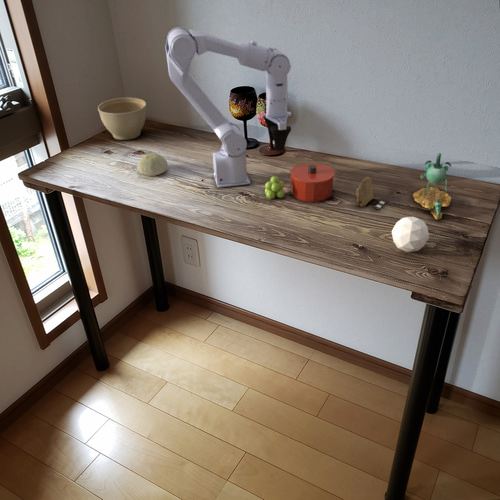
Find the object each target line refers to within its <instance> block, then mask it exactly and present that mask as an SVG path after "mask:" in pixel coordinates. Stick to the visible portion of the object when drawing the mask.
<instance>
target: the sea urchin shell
mask: <svg viewBox="0 0 500 500" xmlns="http://www.w3.org/2000/svg"><path fill="white" fill-rule="evenodd" d="M168 168H169V164H168V161H167V159H166V158H165V157H164V156H162V155H161V154H158V153H149V154H146V155H144V156H142V157H141V158H140V159H139V160H138V162H137V165H136V169H137V172H138V173H139V174H140V175H143V176H148V177H156V176H157V175H159V176H160V175H161V174H163V173H165V172H166V171H167V170H168Z"/></svg>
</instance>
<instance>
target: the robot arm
mask: <svg viewBox="0 0 500 500" xmlns="http://www.w3.org/2000/svg"><path fill="white" fill-rule="evenodd" d="M164 46H165V47H164V48H165V49H164V50H165V54H166V62H167V70H168V76H169V79H170V81H171V82H172V83H173V84H174V86H175V87H176V88H177V89H178V90H179V91H180V92H181V94H182V95H183V96H184V97H185V98H186V100H187V101H188V102H189V103H190V104H191V106H192V107H193V108H194V109H195V110H196V111H197V113H199V115H200V116H201V117H202V118H203V119H204V121H205V122H206V123H207V124H208V125H209V127H210V128H211V129H212V130H213V131H214V133H215V134H216V136H217V138H218V139H219V140H220V141H221V143H222V144H221V147H220V149H219V151H217V152H213V153H212V162H213V163H212V164H213V178H214V180H215V184H216V187H217V188H227V187H228V188H229V187H235V186H236V187H237V186H246V185H250V184H251V180H250V178H249V176H248V170H247V146H248V143H247V142H248V141H247V139H246V138H245V137H244V135H243V134H242V130H241V129H240V127H239V125H237V124H235V123H233V122H231V121H230V119H228V118H227V116H225V115H224V114H223V113H222V111H221V110H220V109H219V108H218V106H217V105H216V104H215V102H214V101H212V99H211V97H210V96H208V94H207V93H206V92H205V90H203V88H202V87H201V85H199V84H198V82H197V81H196V79H194V77H193V76H192V74H190V69H191V63H192V61H193V59H194V58H195V55H196V54H197V56H201V55H203V54H205V53H207V52H211V53H215V54H218V55H223V56H227V57H230V58H234V59H237V61H238V63H239V65H240V66H244V67H247V68H250V69H253V70H257V71H261V72H265V73H266V77H265V79H266V80H265V87H266V88H265V94H266V95H265V102H266V103H265V104H266V105H265V106H266V107H265V108H266V111H265V112H266V113H265V115H263V116H262V117H263V120H264V121H265V124H266V127H267V133H268V139H269V140H270V142H274V148H275V151H276V152H282V151H284V150H285V147H286V143H287V141H288V140H287V139H288V136H289V134H290V133H291V131H292V127H291V126H290V125H288V126H287V120H288V117H292V112H291V111H288V86H289V85H288V83H289V82H288V74H289V73H290V71H291V68H292V65H291V63H290V59H289V57H288V56H287V55H285V54H284V53H283V52H282V50H281V51H280V50H279V49H277V48H274V47H271V46H269V47H266V46H262V45H259V44H257V42H256V41H255V40H250V42H249V41H244V42H243V43H241V44H238V43H236V42H235V43H234V42H231V41H229V40H226V39H224V38H221V37H218V36H215V35H212V34H210V33H206V32H203V31H199V30H196V29H191V28H190V29H189V28H188V29H186V28H185V27H182V26H177V27H174V28H172V29H170V31H169V32H168V33H167V37H166V42H165V45H164Z"/></svg>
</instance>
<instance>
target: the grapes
mask: <svg viewBox="0 0 500 500" xmlns="http://www.w3.org/2000/svg"><path fill="white" fill-rule="evenodd" d="M284 188H285V182H284V180H281V179H279V177H278V176H276V174H273V176H272V177H270V181H267V182H266V183H265V184H264V193H265V196H266V198H267V199H269V200H274V198H275V197H276V198H277V199H282V198H284V197H285V195H286V192H285V190H284Z"/></svg>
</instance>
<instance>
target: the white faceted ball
mask: <svg viewBox="0 0 500 500" xmlns="http://www.w3.org/2000/svg"><path fill="white" fill-rule="evenodd" d="M391 236H392V241H393V243H394V244H395V246H396V248H397V249H399V250H400V251H404V252H406V253H412V252H418V251H420V250H421V249H422V248H424V247H425V245H426V243H427V242H428V240H429V238H430V234H429V228H428V225H427V224H426V223H425V222H424V220H423V219H421V218H418V217H416V216H406V217H402V218H400V219H399V220H398V221H397V222H396V223H395V225H394V226H393V228H392V230H391Z"/></svg>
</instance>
